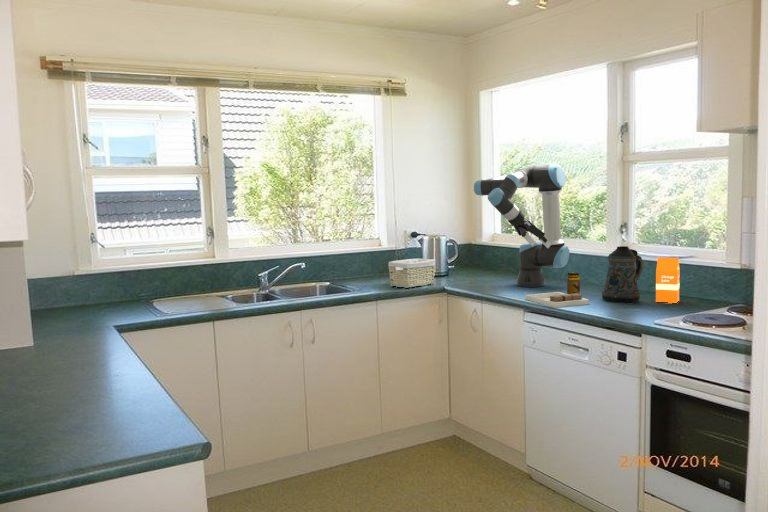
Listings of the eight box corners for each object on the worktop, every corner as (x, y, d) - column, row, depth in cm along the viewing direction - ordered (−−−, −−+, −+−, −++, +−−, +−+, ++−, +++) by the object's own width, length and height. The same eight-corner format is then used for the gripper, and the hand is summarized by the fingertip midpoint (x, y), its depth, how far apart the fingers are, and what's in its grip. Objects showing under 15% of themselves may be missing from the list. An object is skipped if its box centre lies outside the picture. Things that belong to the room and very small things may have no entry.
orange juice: (677, 303, 277) (677, 258, 275) (655, 302, 282) (656, 258, 280) (679, 300, 284) (680, 257, 282) (658, 299, 288) (658, 256, 286)
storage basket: (417, 282, 370) (416, 257, 368) (437, 284, 358) (436, 258, 356) (387, 287, 353) (386, 261, 352) (407, 290, 342) (407, 263, 340)
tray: (525, 300, 298) (525, 295, 298) (558, 297, 304) (558, 291, 303) (554, 308, 275) (554, 303, 275) (589, 305, 281) (589, 299, 281)
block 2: (559, 303, 283) (559, 295, 283) (566, 302, 285) (565, 294, 285) (565, 305, 280) (565, 296, 279) (572, 304, 281) (572, 295, 281)
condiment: (580, 298, 299) (580, 273, 298) (562, 298, 301) (562, 273, 300) (580, 295, 306) (580, 271, 304) (562, 295, 308) (562, 271, 307)
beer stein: (596, 302, 288) (596, 248, 285) (611, 295, 302) (612, 244, 300) (633, 305, 277) (633, 249, 274) (647, 298, 292) (647, 245, 289)
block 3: (569, 302, 285) (569, 294, 285) (577, 302, 286) (577, 293, 286) (573, 304, 282) (573, 295, 281) (581, 303, 282) (581, 294, 282)
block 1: (549, 304, 282) (549, 296, 282) (557, 303, 283) (557, 295, 283) (554, 306, 278) (554, 297, 278) (562, 305, 280) (562, 296, 279)
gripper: (495, 220, 306) (523, 249, 313) (522, 222, 283) (551, 253, 289) (505, 209, 307) (532, 237, 314) (532, 209, 284) (561, 241, 290)
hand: (541, 245), depth 301 cm, fingers open, 13 cm apart
